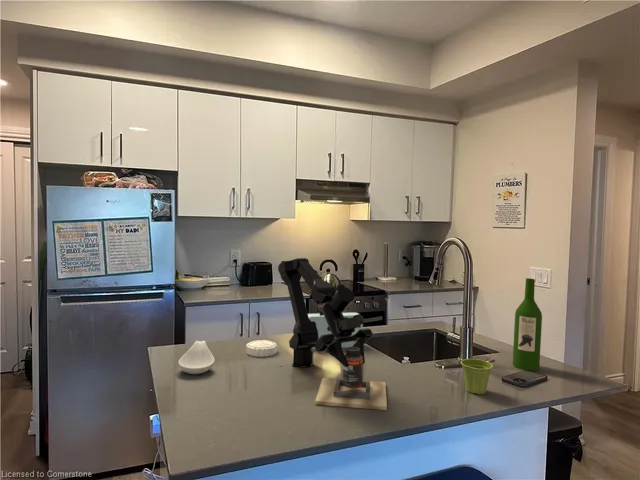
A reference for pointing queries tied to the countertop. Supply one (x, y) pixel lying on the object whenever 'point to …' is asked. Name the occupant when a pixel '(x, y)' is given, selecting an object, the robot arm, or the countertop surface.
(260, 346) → the mooncake
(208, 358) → the spoon rest
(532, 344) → the wine bottle
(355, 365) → the supplement bottle
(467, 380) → the plant pot
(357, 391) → the board
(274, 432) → the countertop surface
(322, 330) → the pale blue rectangular block
